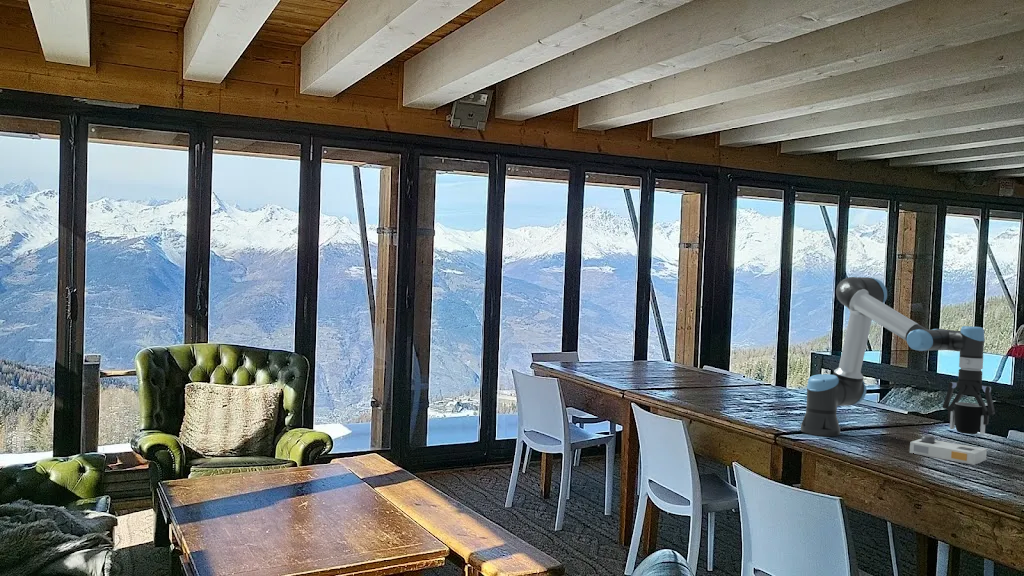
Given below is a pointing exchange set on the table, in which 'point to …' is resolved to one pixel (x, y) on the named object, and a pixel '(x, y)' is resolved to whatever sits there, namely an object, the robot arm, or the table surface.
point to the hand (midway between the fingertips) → (967, 431)
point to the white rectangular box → (949, 451)
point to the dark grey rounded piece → (928, 439)
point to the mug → (967, 417)
